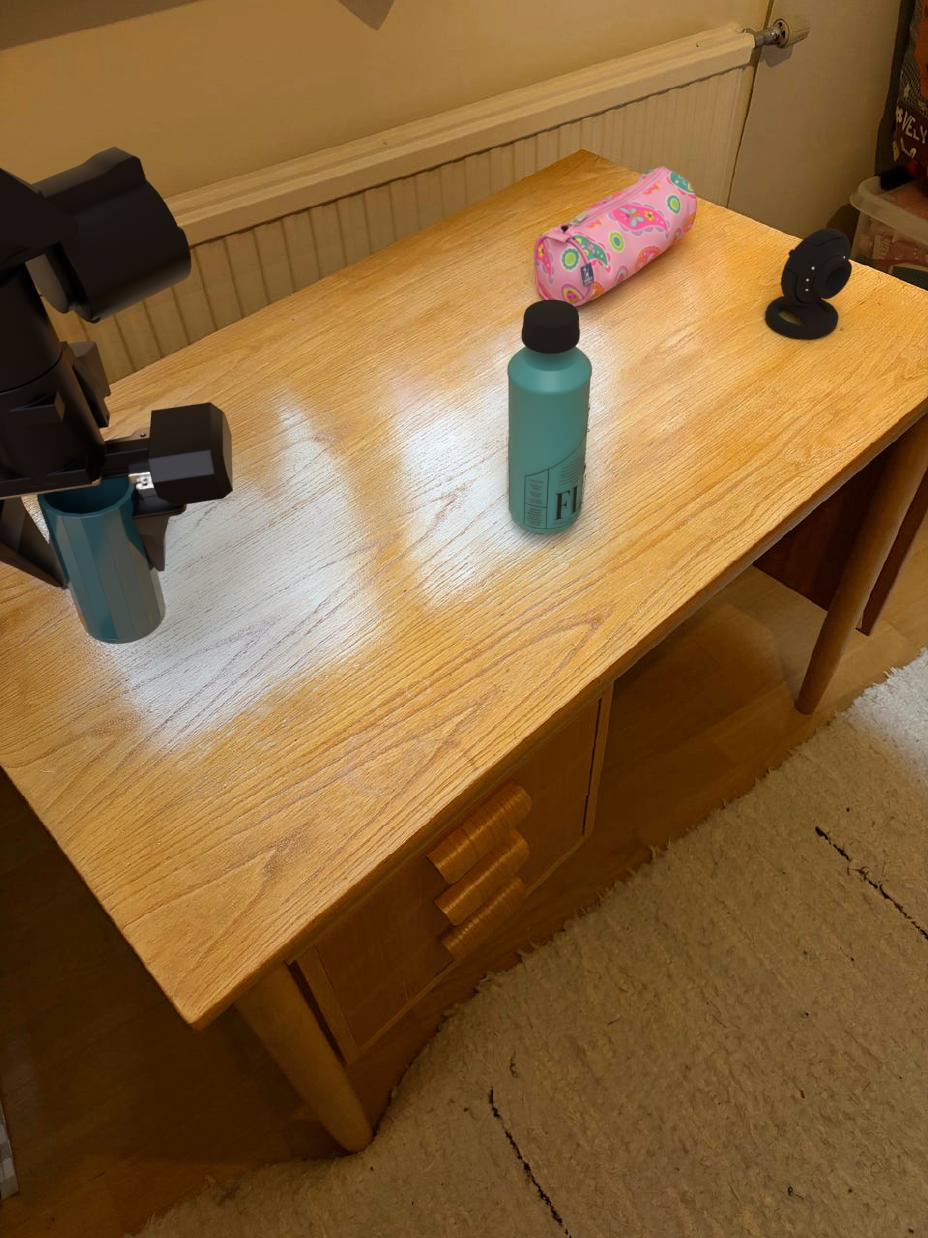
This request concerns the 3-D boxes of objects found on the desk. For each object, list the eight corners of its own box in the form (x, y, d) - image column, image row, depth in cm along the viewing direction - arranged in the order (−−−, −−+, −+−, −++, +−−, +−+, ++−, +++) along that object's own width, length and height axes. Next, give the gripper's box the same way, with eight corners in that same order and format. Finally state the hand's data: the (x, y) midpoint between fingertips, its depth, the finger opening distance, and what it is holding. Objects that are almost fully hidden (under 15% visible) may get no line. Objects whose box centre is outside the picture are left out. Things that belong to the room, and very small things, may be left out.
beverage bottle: (555, 559, 73) (567, 348, 58) (490, 527, 76) (486, 317, 60) (596, 515, 76) (618, 303, 61) (533, 486, 79) (539, 277, 64)
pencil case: (583, 325, 95) (589, 245, 88) (520, 296, 100) (522, 217, 93) (697, 250, 105) (710, 173, 98) (635, 227, 109) (644, 151, 102)
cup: (64, 625, 57) (15, 496, 49) (118, 574, 61) (80, 446, 52) (131, 656, 56) (92, 529, 48) (182, 602, 59) (154, 475, 51)
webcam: (795, 349, 91) (822, 257, 83) (748, 315, 95) (769, 225, 88) (852, 327, 93) (883, 235, 86) (804, 296, 98) (829, 205, 90)
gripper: (195, 257, 50) (256, 470, 61) (-150, 301, 48) (-18, 511, 60) (191, 369, 42) (261, 586, 54) (-213, 425, 41) (-49, 635, 53)
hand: (112, 574), depth 56 cm, fingers closed on cup, 6 cm apart
